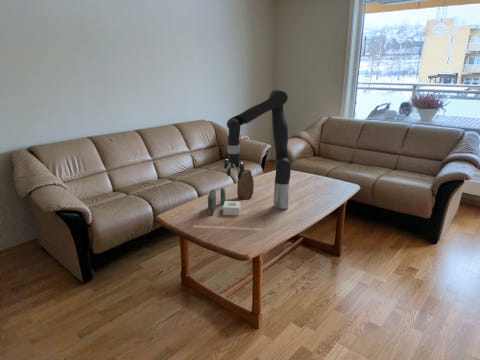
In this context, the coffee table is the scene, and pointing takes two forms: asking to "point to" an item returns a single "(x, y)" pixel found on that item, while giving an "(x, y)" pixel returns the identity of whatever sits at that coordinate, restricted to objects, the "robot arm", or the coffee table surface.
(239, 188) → the brown rounded block
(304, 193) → the coffee table surface
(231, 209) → the socket
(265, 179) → the coffee table surface
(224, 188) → the dowel
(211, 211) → the jig
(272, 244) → the coffee table surface
